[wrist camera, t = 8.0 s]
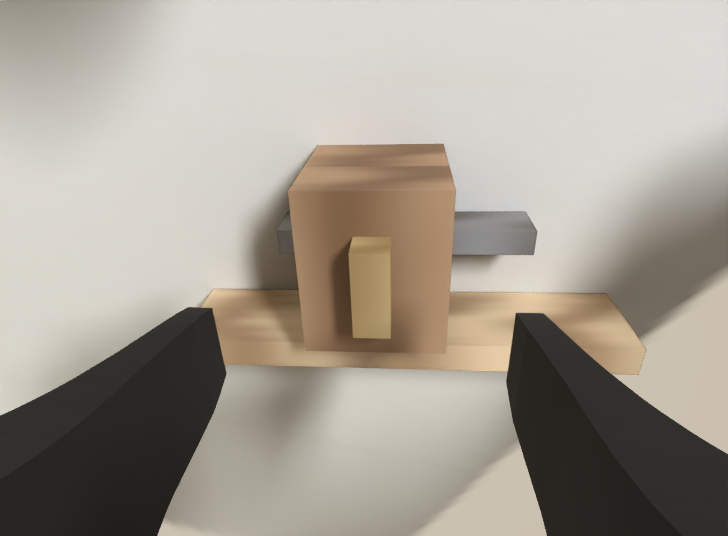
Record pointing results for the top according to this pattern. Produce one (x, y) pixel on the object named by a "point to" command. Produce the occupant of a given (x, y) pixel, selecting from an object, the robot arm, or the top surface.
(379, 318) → the cabinet block
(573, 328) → the cleat board
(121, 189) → the top surface
